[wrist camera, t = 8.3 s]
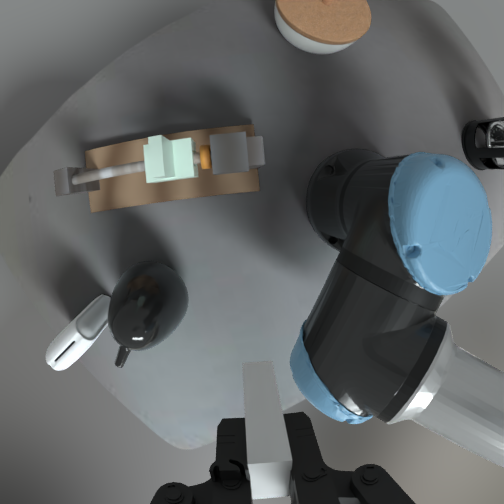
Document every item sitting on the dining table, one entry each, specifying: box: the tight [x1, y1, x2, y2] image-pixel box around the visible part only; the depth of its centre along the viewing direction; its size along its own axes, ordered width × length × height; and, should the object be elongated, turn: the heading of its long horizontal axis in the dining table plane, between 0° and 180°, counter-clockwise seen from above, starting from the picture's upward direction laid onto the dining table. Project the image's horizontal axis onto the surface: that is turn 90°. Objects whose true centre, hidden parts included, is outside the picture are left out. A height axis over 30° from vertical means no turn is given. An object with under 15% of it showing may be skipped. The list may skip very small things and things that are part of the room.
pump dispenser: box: [108, 261, 188, 368], centre depth 36 cm, size 10×10×15 cm
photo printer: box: [46, 294, 111, 370], centre depth 37 cm, size 10×4×12 cm, turn 129°
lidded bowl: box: [274, 0, 371, 54], centre depth 30 cm, size 13×13×11 cm
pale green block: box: [143, 135, 199, 183], centre depth 28 cm, size 5×4×9 cm
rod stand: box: [54, 124, 265, 213], centre depth 34 cm, size 24×9×11 cm, turn 95°
